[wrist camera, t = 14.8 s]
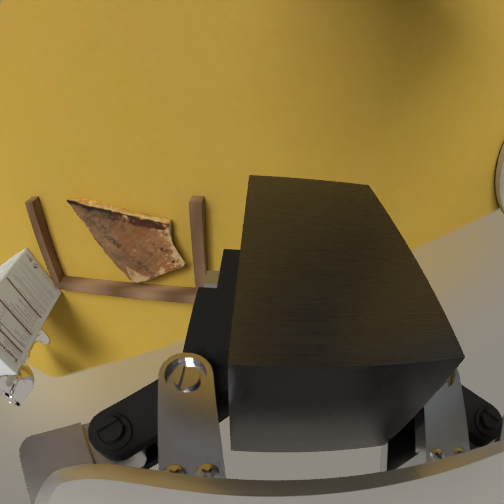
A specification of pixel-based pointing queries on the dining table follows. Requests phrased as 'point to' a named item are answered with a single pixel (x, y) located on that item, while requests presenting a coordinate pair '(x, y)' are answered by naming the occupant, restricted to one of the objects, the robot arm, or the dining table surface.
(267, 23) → the dining table surface
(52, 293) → the supplement box
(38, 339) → the wineglass
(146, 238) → the shard
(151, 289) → the frame
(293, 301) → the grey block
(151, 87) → the dining table surface
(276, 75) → the dining table surface
